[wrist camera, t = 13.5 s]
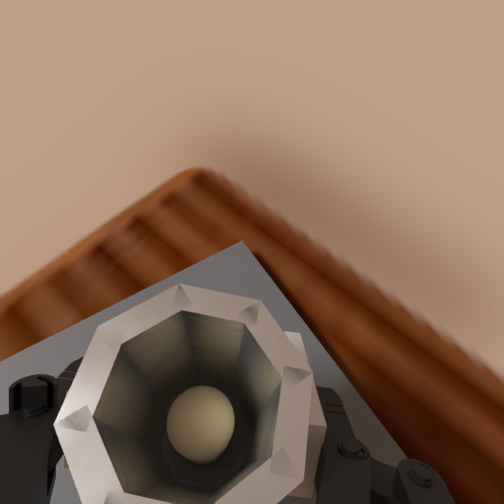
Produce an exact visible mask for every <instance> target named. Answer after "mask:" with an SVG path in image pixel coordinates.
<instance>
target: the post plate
mask: <svg viewBox="0 0 504 504" xmlns="http://www.w3.org/2000/svg"><path fill="white" fill-rule="evenodd" d="M177 284H184V285H189V286H194V287H199V288H204V289H208V290H213V291H218V292H223V293H228V294H233V295H238V296H242V297H247V298H252V299H257V300H261V302H262V303H263V304H264V306H265V307H266V309H267V310H268V311H269V313H270V314H271V315H272V317H273V318H274V319H275V321H276V322H277V323H278V325H279V326H280V328H281V329H282V330H283V332H284V333H285V331H288V332H295V333H300V334H301V338H302V341H303V344H304V348H305V351H306V355H307V358H308V362H309V365H310V368H311V370H312V371H313V379H314V383H315V386H319V387H327V388H332V389H333V390H334V391H335V392H336V393H337V394H338V395H339V396H340V398H341V401H342V403H343V407H344V409H345V411H346V415H347V416H348V419H349V422H350V424H351V427H352V429H353V432H354V435H355V437H356V439H358V440H359V441H361V442H362V443H363V444H364V445H366V447H367V448H368V450H369V451H370V455H371V457H372V458H374V459H375V460H378V461H380V462H382V463H385V464H387V465H390V466H393V467H395V468H397V466H398V464H399V462H400V461H401V460H403V459H406V458H407V456H406V455H405V454H404V452H403V451H402V450H401V448H400V447H399V446H398V444H397V443H396V442H395V441H394V439H393V438H392V437H391V435H390V434H389V433H388V431H387V430H386V429H385V427H384V426H383V425H382V423H381V422H380V421H379V420H378V418H377V417H376V416H375V414H374V413H373V412H372V410H371V409H370V408H369V406H368V405H367V404H366V402H365V401H364V400H363V399H362V397H361V396H360V395H359V393H358V392H357V391H356V389H355V388H354V387H353V385H352V384H351V383H350V381H349V380H348V379H347V378H346V376H345V375H344V374H343V372H342V371H341V370H340V368H339V367H338V366H337V364H336V363H335V362H334V360H333V359H332V358H331V357H330V355H329V354H328V353H327V351H326V350H325V349H324V347H323V346H322V345H321V343H320V342H319V341H318V339H317V338H316V337H315V336H314V334H313V333H312V332H311V330H310V329H309V328H308V326H307V325H306V324H305V322H304V321H303V320H302V318H301V317H300V316H299V315H298V313H297V312H296V311H295V309H294V308H293V307H292V305H291V304H290V303H289V301H288V300H287V299H286V297H285V296H284V295H283V294H282V292H281V291H280V290H279V288H278V287H277V286H276V284H275V283H274V282H273V280H272V279H271V278H270V276H269V275H268V274H267V273H266V271H265V270H264V269H263V267H262V266H261V265H260V263H259V262H258V261H257V259H256V258H255V257H254V255H253V254H252V253H251V252H250V250H249V249H248V248H247V246H246V245H245V244H244V242H243V241H240V242H238V243H236V244H234V245H232V246H230V247H228V248H226V249H224V250H222V251H220V252H218V253H216V254H214V255H212V256H210V257H208V258H206V259H204V260H202V261H200V262H198V263H196V264H194V265H192V266H190V267H188V268H186V269H184V270H182V271H180V272H178V273H176V274H174V275H172V276H170V277H168V278H166V279H164V280H162V281H160V282H158V283H156V284H154V285H152V286H150V287H148V288H146V289H144V290H142V291H140V292H138V293H136V294H134V295H132V296H130V297H128V298H126V299H124V300H122V301H120V302H118V303H116V304H114V305H112V306H110V307H108V308H106V309H104V310H102V311H100V312H99V313H97V314H95V315H93V316H91V317H89V318H87V319H85V320H83V321H81V322H79V323H77V324H75V325H73V326H71V327H69V328H67V329H65V330H63V331H61V332H59V333H57V334H55V335H53V336H51V337H49V338H47V339H45V340H43V341H41V342H39V343H37V344H35V345H33V346H31V347H29V348H27V349H25V350H23V351H21V352H19V353H17V354H15V355H13V356H11V357H9V358H7V359H5V360H3V361H1V362H0V415H3V414H8V412H9V387H10V386H11V385H12V383H14V382H15V381H17V380H19V379H20V378H23V377H26V376H29V375H36V374H47V375H51V376H54V377H55V378H58V376H59V375H60V374H61V373H62V372H64V370H65V369H66V368H67V367H68V366H69V365H70V364H71V363H72V362H74V361H75V360H77V359H79V358H81V357H84V356H85V354H86V351H87V349H88V347H89V345H90V343H91V340H92V338H93V336H94V334H95V331H96V329H97V327H98V326H99V325H101V324H103V323H105V322H107V321H109V320H111V319H113V318H114V317H116V316H118V315H120V314H122V313H124V312H126V311H128V310H130V309H131V308H133V307H135V306H137V305H139V304H141V303H143V302H145V301H147V300H149V299H150V298H152V297H154V296H156V295H158V294H160V293H162V292H164V291H166V290H168V289H169V288H171V287H173V286H175V285H177ZM248 429H249V428H248V426H247V425H246V423H245V421H244V420H243V418H242V416H241V415H240V413H239V411H238V410H237V408H236V406H235V405H234V403H233V402H232V400H231V399H229V398H227V397H226V396H225V395H224V394H223V393H222V392H221V391H219V390H218V389H216V388H214V387H210V386H195V387H192V388H189V389H187V390H186V391H184V392H183V393H181V394H180V395H179V396H178V397H177V398H176V400H175V401H174V402H173V404H172V406H171V408H170V410H169V413H168V417H167V428H166V431H165V435H164V438H163V442H162V445H161V450H162V452H163V454H164V456H165V458H166V460H167V462H168V464H169V466H170V468H171V470H172V473H173V475H174V477H175V479H176V481H177V482H179V483H183V484H188V485H192V486H197V487H201V488H206V489H210V490H213V489H214V488H215V487H217V486H218V485H219V484H220V483H222V482H223V481H224V480H225V479H227V478H228V477H229V476H230V475H232V474H233V473H234V472H235V471H237V470H238V469H239V468H240V467H242V464H243V458H244V452H245V447H246V441H247V435H248ZM407 459H408V458H407ZM316 499H317V495H316V490H315V485H314V489H313V494H312V499H311V498H303V497H295V496H289V495H288V494H287V495H286V496H285V497H284V498H283V499H282V500H281V501H280V502H278V503H277V504H316ZM50 504H82V502H81V499H80V496H79V494H78V491H77V488H76V485H75V483H74V480H73V477H72V474H71V472H70V469H69V468H64V455H63V456H62V457H61V459H60V460H59V462H58V463H57V465H56V479H55V483H54V487H53V491H52V496H51V500H50Z"/></svg>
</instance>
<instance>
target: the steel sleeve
mask: <svg viewBox="0 0 504 504" xmlns="http://www.w3.org/2000/svg"><path fill="white" fill-rule="evenodd" d="M312 380H313V371H312V370H311V368H310V367H309V366H308V364H307V363H306V361H305V360H304V359H303V357H302V356H301V355H300V353H299V352H298V351H297V349H296V348H295V347H294V345H293V344H292V342H291V341H290V340H289V338H288V337H287V336H286V334H285V333H284V332H283V330H282V329H281V328H280V326H279V325H278V323H277V322H276V321H275V319H274V318H273V317H272V315H271V314H270V313H269V311H268V310H267V309H266V307H265V306H264V304H263V303H262V302H261V300H257V299H252V298H247V297H242V296H238V295H233V294H228V293H223V292H218V291H213V290H208V289H204V288H199V287H194V286H189V285H184V284H177V285H175V286H173V287H171V288H169V289H168V290H166V291H164V292H162V293H160V294H158V295H156V296H154V297H152V298H150V299H149V300H147V301H145V302H143V303H141V304H139V305H137V306H135V307H133V308H131V309H130V310H128V311H126V312H124V313H122V314H120V315H118V316H116V317H114V318H113V319H111V320H109V321H107V322H105V323H103V324H101V325H99V326H98V327H97V329H96V331H95V334H94V336H93V338H92V340H91V343H90V345H89V347H88V349H87V351H86V354H85V356H84V358H83V360H82V363H81V365H80V367H79V369H78V371H77V374H76V376H75V378H74V380H73V383H72V385H71V387H70V389H69V392H68V394H67V396H66V398H65V400H64V403H63V405H62V407H61V409H60V412H59V414H58V416H57V418H56V420H55V423H54V424H53V425H54V428H55V430H56V433H57V436H58V439H59V441H60V444H61V447H62V450H63V452H64V455H65V458H66V461H67V463H68V466H69V469H70V472H71V474H72V477H73V480H74V483H75V485H76V488H77V491H78V494H79V496H80V499H81V502H82V504H277V503H278V502H280V501H281V500H282V499H283V498H284V497H285V496H286V495H287V494H289V493H290V492H291V491H292V490H293V489H294V488H295V487H297V486H298V485H299V484H300V483H301V482H302V481H304V470H305V459H306V448H307V436H308V425H309V414H310V402H311V391H312ZM195 386H210V387H214V388H216V389H218V390H219V391H221V392H222V393H223V394H224V395H225V396H226V397H227V398H229V399H231V400H232V402H233V403H234V405H235V406H236V408H237V410H238V411H239V413H240V415H241V416H242V418H243V420H244V421H245V423H246V425H247V426H248V428H249V429H248V435H247V441H246V447H245V452H244V458H243V464H242V467H240V468H239V469H238V470H237V471H235V472H234V473H233V474H232V475H230V476H229V477H228V478H227V479H225V480H224V481H223V482H222V483H220V484H219V485H218V486H217V487H215V488H214V489H213V490H210V489H206V488H201V487H197V486H192V485H188V484H183V483H179V482H177V481H176V479H175V477H174V475H173V473H172V470H171V468H170V466H169V464H168V462H167V460H166V458H165V456H164V454H163V452H162V450H161V445H162V442H163V438H164V435H165V431H166V428H167V417H168V413H169V410H170V408H171V406H172V404H173V402H174V401H175V400H176V398H177V397H178V396H179V395H180V394H181V393H183V392H184V391H186V390H187V389H189V388H192V387H195Z"/></svg>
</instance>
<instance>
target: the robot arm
mask: <svg viewBox="0 0 504 504" xmlns="http://www.w3.org/2000/svg"><path fill="white" fill-rule="evenodd" d="M285 334H286V336H287V337H288V338H289V340H290V341H291V342H292V344H293V345H294V347H295V348H296V349H297V351H298V352H299V353H300V355H301V356H302V357H303V359H304V360H305V361H306V363H307V364H308V366H309V367H310V365H309V362H308V358H307V355H306V351H305V348H304V344H303V341H302V338H301V334H300V333H295V332H288V331H285ZM83 358H84V357H81V358H79V359H77V360H75V361H74V362H72V363H71V364H70V365H69V366H68V367H67V368H66V369H65V370H64V372H62V373H61V374H60V375H59V376H58V378H55V377H54V376H51V375H47V374H36V375H29V376H26V377H23V378H20V379H19V380H17V381H15V382H14V383H12V385H11V386H10V387H9V412H8V414H3V415H0V504H50V500H51V496H52V491H53V487H54V483H55V479H56V465H57V463H58V462H59V460H60V459H61V457H62V456H63V455H64V452H63V450H62V447H61V444H60V441H59V439H58V436H57V433H56V430H55V428H54V425H53V424H54V423H55V420H56V418H57V416H58V414H59V412H60V409H61V407H62V405H63V403H64V400H65V398H66V396H67V394H68V392H69V389H70V387H71V385H72V383H73V380H74V378H75V376H76V374H77V371H78V369H79V367H80V365H81V363H82V360H83ZM64 468H69V466H68V463H67V461H66V458H65V455H64ZM314 485H315V490H316V495H317V499H316V504H456V503H455V501H454V499H453V497H452V496H451V494H450V492H449V490H448V488H447V486H446V484H445V482H444V480H443V479H442V477H441V476H440V475H439V473H438V472H437V471H435V470H434V469H433V468H432V467H431V466H429V465H427V464H425V463H424V462H422V461H419V460H416V459H407V458H406V459H403V460H401V461H400V462H399V464H398V466H397V468H395V467H393V466H390V465H387V464H385V463H382V462H380V461H378V460H375V459H374V458H372V457H371V455H370V451H369V450H368V448H367V447H366V445H364V444H363V443H362V442H361V441H359V440H358V439H356V437H355V435H354V432H353V429H352V427H351V424H350V422H349V419H348V416H347V415H346V411H345V409H344V407H343V403H342V401H341V398H340V396H339V395H338V394H337V393H336V392H335V391H334V390H333V389H332V388H327V387H319V386H315V383H314V379H313V380H312V391H311V402H310V414H309V425H308V436H307V448H306V459H305V470H304V481H302V482H301V483H300V484H299V485H298V486H297V487H295V488H294V489H293V490H292V491H291V492H290V493H289V494H288V495H289V496H295V497H303V498H311V499H312V494H313V489H314Z"/></svg>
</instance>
